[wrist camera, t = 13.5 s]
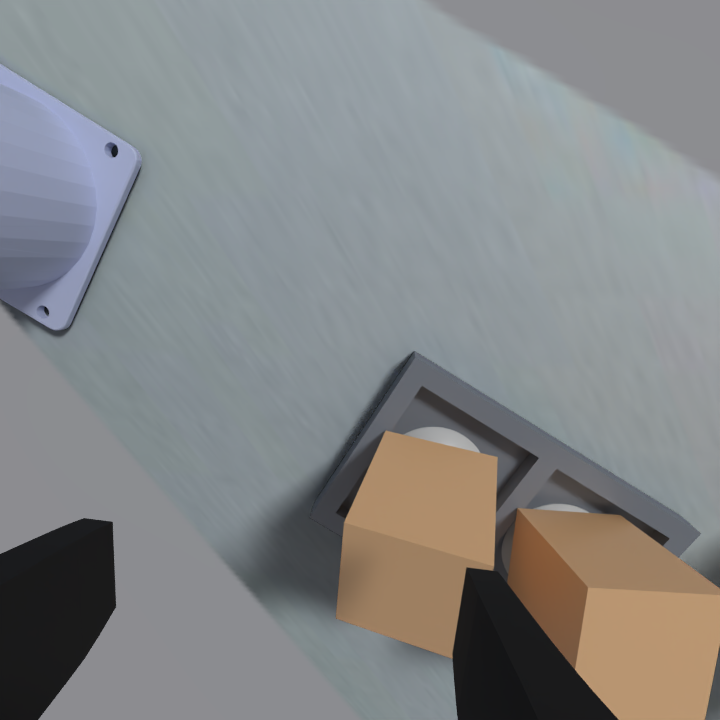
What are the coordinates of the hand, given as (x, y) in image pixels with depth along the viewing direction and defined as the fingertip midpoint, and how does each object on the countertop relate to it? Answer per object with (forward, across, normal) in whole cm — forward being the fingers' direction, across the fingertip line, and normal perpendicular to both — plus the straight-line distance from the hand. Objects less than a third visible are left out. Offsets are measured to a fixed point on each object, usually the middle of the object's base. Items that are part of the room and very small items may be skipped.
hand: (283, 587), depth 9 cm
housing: (+10, -7, +3) cm, 12 cm away
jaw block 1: (+9, -4, +2) cm, 10 cm away
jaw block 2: (+9, -9, +5) cm, 14 cm away
